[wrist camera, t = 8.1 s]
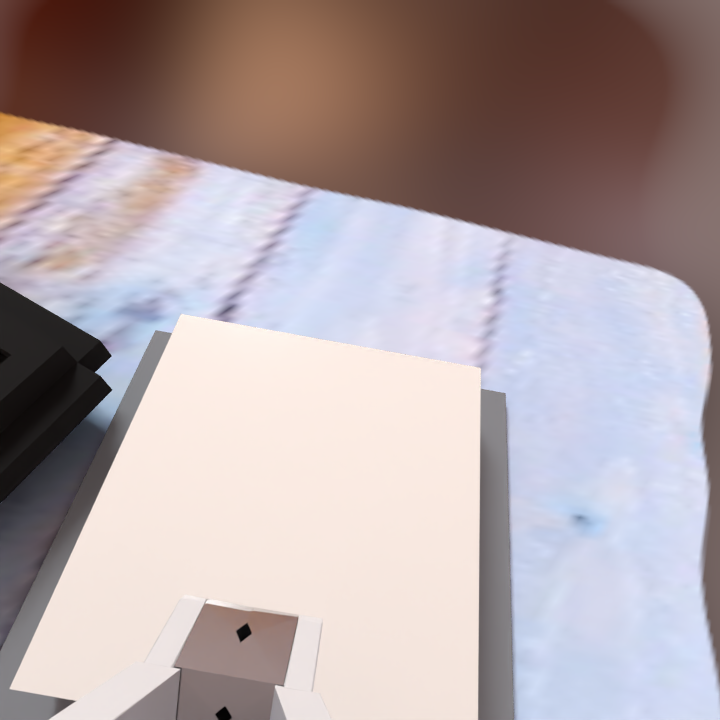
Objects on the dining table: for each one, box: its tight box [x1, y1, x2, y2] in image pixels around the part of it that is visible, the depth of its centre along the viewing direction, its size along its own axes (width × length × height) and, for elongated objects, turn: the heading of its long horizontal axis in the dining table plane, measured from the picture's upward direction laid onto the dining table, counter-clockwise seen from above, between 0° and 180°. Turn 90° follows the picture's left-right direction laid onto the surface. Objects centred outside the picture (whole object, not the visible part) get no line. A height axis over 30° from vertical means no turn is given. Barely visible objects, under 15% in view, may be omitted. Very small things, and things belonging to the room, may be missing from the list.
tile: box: [10, 314, 481, 720], centre depth 15 cm, size 3×12×12 cm
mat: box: [0, 331, 514, 720], centre depth 15 cm, size 18×16×1 cm
